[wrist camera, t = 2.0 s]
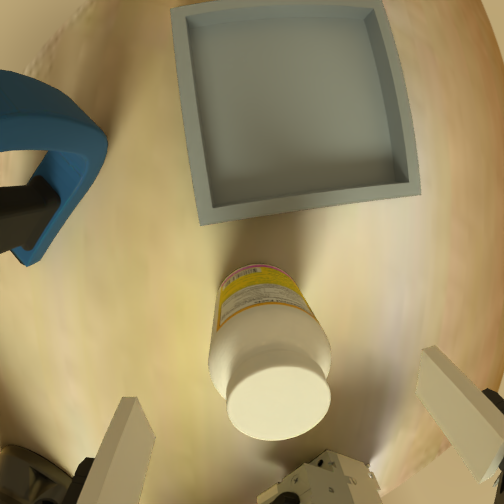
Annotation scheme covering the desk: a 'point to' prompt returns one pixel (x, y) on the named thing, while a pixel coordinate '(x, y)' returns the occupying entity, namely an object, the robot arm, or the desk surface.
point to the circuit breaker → (326, 483)
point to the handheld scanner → (44, 163)
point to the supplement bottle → (268, 355)
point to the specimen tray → (292, 106)
